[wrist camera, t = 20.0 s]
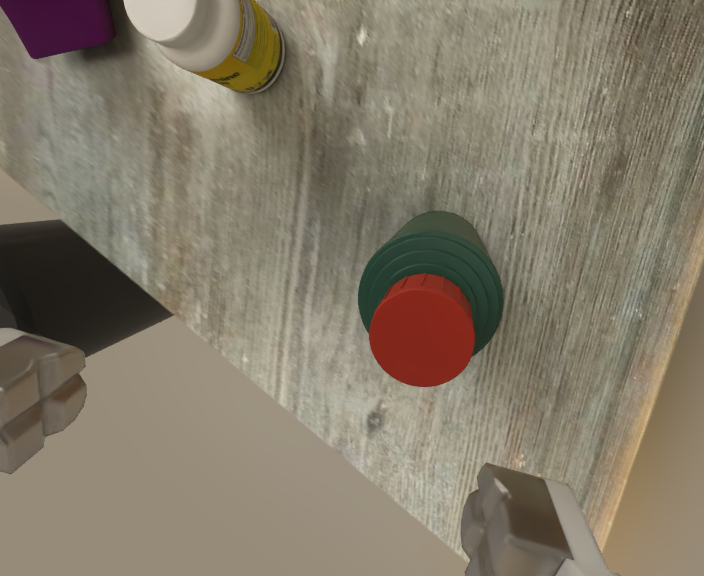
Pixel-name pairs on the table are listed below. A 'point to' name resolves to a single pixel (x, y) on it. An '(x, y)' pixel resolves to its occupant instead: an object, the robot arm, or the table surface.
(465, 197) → the table surface
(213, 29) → the pill bottle
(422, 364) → the cap
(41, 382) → the robot arm
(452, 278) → the water bottle
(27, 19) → the purple faceted vase
